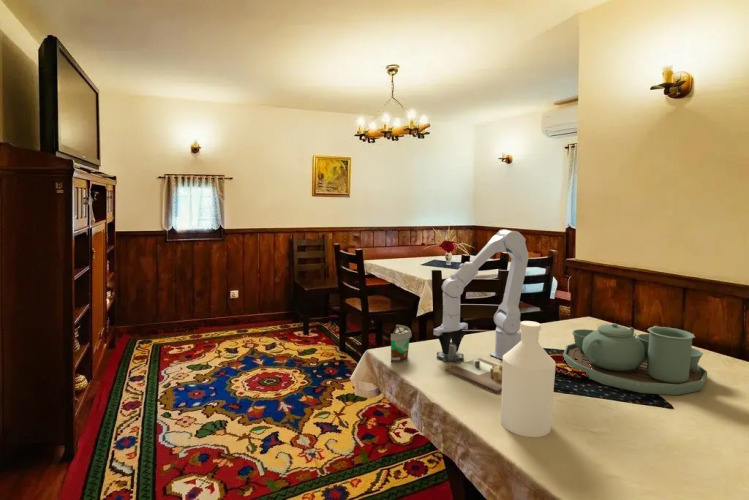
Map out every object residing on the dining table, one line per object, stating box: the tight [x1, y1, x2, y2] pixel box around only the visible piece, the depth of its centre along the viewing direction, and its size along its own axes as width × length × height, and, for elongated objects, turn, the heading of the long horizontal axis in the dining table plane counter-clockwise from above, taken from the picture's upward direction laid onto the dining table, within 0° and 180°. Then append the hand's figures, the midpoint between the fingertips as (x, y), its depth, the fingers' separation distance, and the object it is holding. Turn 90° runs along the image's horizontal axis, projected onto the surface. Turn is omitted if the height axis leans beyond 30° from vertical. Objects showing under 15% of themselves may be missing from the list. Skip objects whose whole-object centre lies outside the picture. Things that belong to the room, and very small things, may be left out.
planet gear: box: [436, 341, 465, 364], centre depth 150 cm, size 9×9×5 cm
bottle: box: [500, 320, 557, 438], centre depth 104 cm, size 12×12×25 cm
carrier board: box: [445, 357, 503, 395], centre depth 135 cm, size 16×20×4 cm
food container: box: [390, 324, 412, 363], centre depth 149 cm, size 12×6×10 cm, turn 168°
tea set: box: [562, 322, 708, 396], centre depth 141 cm, size 40×40×16 cm
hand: (450, 352), depth 150 cm, fingers closed on planet gear, 4 cm apart
